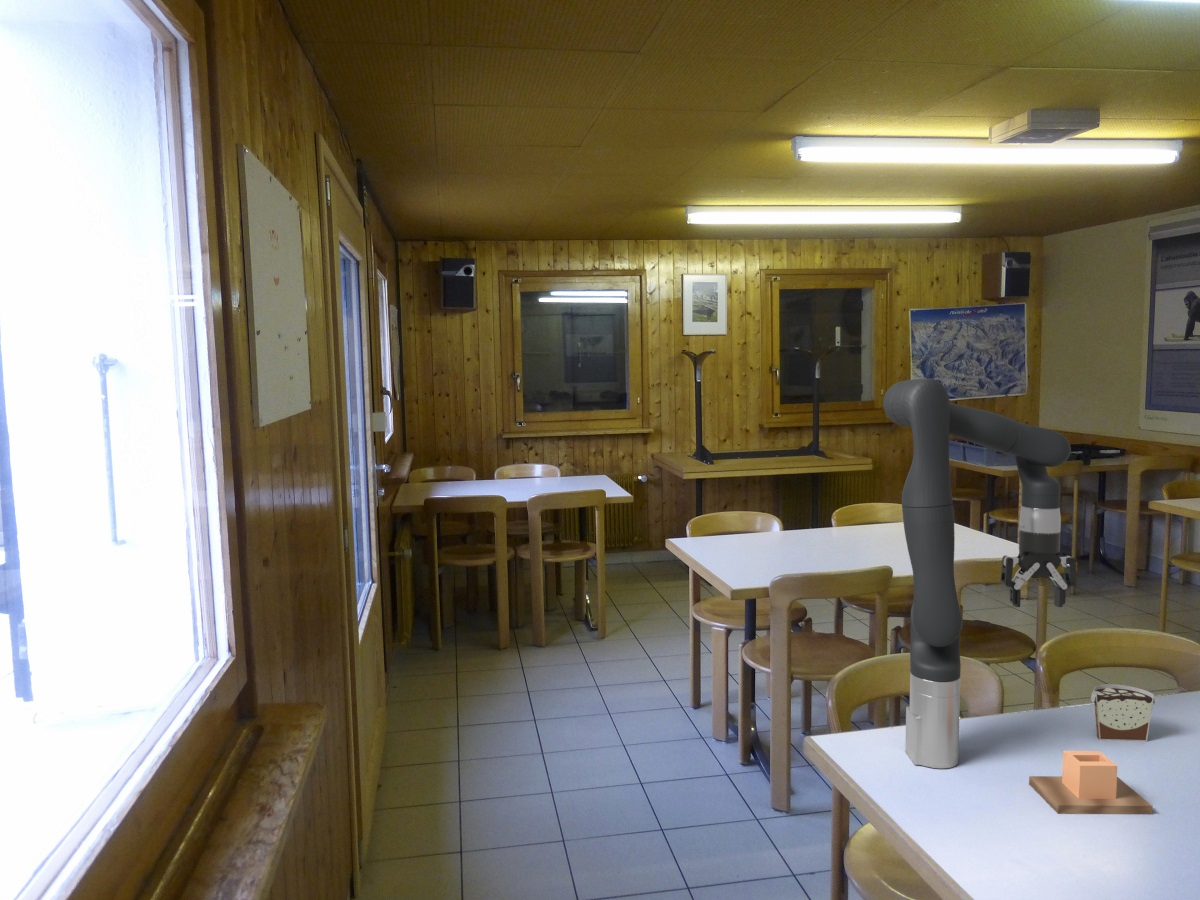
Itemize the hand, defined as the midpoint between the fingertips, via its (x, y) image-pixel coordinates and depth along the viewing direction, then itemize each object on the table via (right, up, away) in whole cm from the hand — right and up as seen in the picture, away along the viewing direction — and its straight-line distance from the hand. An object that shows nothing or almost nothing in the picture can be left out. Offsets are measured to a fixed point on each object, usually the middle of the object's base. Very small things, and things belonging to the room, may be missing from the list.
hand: (1037, 606), depth 180 cm
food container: (+18, -28, +4) cm, 34 cm away
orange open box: (-3, -29, -24) cm, 37 cm away
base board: (-3, -30, -23) cm, 38 cm away
